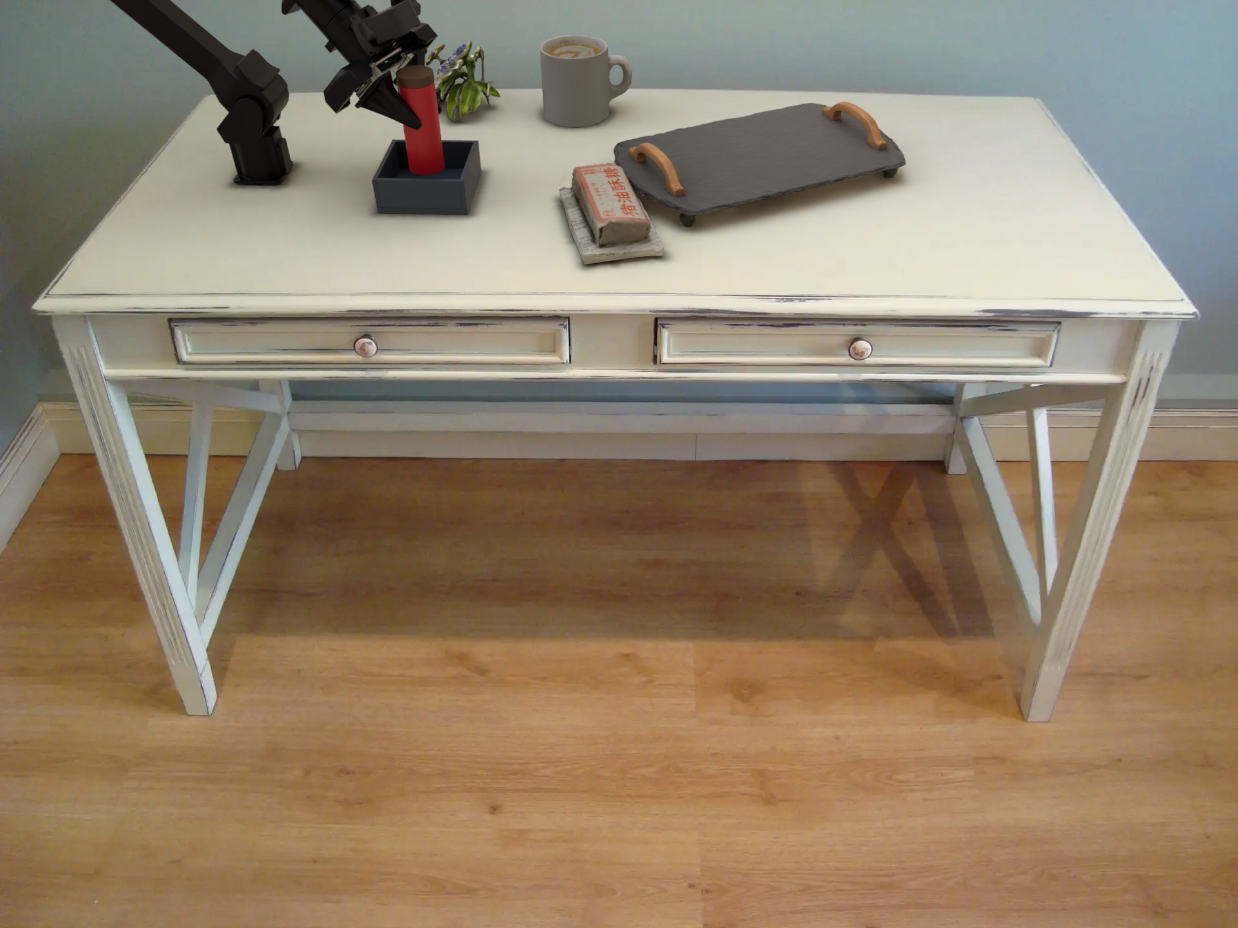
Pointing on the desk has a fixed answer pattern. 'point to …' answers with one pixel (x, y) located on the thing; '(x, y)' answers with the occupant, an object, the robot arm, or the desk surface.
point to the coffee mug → (579, 80)
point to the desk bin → (428, 181)
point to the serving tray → (756, 157)
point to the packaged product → (607, 216)
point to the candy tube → (421, 119)
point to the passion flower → (468, 87)
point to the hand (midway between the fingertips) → (430, 120)
